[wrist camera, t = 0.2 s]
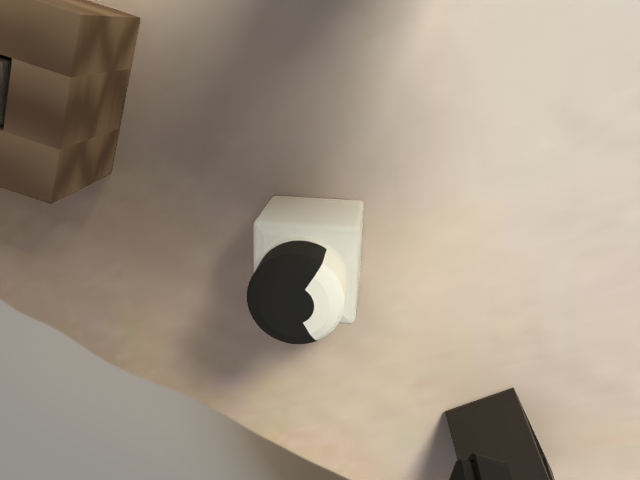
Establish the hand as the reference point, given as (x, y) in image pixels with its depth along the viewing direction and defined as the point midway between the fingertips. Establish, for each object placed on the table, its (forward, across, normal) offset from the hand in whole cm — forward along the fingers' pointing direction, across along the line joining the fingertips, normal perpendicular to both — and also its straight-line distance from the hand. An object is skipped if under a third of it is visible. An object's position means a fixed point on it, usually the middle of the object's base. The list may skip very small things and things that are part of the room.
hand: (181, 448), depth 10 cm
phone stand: (+37, -19, +22) cm, 47 cm away
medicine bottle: (+37, 0, +9) cm, 38 cm away
